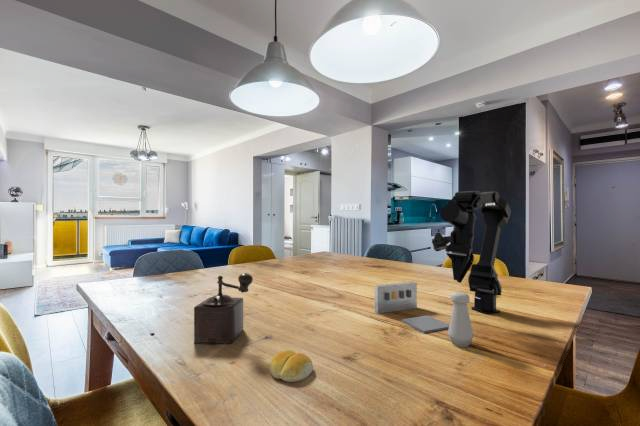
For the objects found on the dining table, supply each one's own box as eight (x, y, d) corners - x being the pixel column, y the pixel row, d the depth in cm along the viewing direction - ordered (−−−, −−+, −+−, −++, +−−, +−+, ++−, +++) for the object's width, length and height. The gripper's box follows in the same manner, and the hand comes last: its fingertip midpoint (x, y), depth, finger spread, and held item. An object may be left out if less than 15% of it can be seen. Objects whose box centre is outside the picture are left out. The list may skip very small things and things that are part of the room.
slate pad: (427, 317, 97) (427, 315, 97) (451, 328, 88) (451, 326, 88) (401, 321, 93) (401, 319, 93) (423, 333, 84) (423, 330, 84)
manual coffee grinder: (191, 344, 77) (191, 274, 77) (209, 328, 88) (209, 267, 88) (250, 346, 77) (250, 275, 77) (261, 329, 88) (261, 267, 88)
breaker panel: (413, 306, 108) (413, 281, 108) (418, 308, 106) (418, 283, 106) (374, 311, 103) (374, 285, 103) (379, 314, 100) (378, 287, 100)
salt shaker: (476, 349, 74) (475, 296, 74) (451, 347, 75) (450, 295, 75) (469, 339, 79) (468, 290, 80) (446, 338, 81) (445, 289, 81)
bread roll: (285, 359, 70) (285, 341, 70) (318, 369, 65) (318, 351, 65) (260, 375, 63) (260, 355, 63) (294, 388, 58) (294, 367, 58)
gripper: (440, 233, 105) (434, 278, 102) (430, 220, 89) (423, 273, 86) (476, 237, 99) (471, 285, 96) (472, 224, 83) (466, 281, 80)
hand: (457, 281), depth 90 cm, fingers open, 9 cm apart
